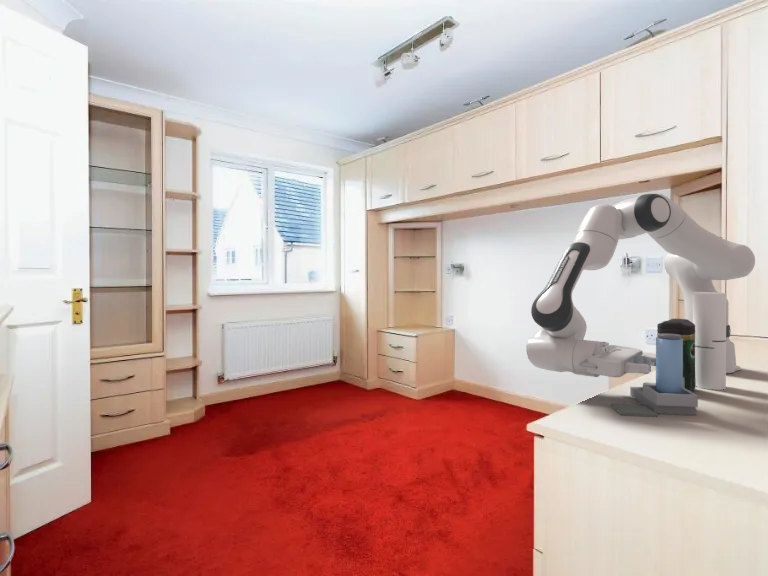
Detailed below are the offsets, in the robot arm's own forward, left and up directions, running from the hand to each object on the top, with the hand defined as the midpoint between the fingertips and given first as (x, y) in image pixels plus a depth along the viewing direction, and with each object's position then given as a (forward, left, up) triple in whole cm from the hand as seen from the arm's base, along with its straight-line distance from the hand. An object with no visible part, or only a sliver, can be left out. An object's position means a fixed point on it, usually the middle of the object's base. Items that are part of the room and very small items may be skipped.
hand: (655, 365), depth 99 cm
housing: (-3, +2, -10) cm, 10 cm away
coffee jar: (-17, +11, -10) cm, 23 cm away
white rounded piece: (-7, +2, -9) cm, 12 cm away
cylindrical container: (-22, +21, -10) cm, 32 cm away
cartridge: (+2, +2, -8) cm, 8 cm away
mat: (+4, -6, -10) cm, 12 cm away
